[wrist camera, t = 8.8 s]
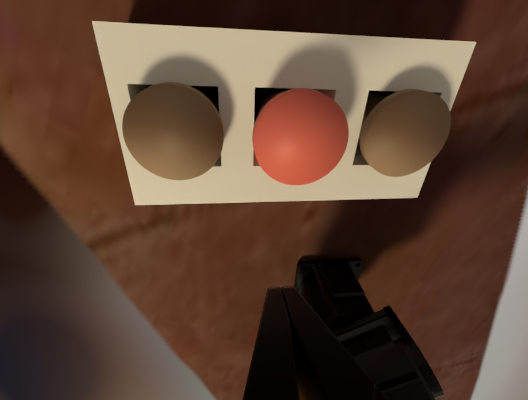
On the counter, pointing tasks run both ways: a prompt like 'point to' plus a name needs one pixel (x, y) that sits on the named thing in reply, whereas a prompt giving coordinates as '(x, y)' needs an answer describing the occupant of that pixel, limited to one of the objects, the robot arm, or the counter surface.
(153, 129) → the walnut plunger near
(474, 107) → the counter surface
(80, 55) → the counter surface
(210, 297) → the counter surface
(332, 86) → the jig
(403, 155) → the walnut plunger far
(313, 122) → the red plunger
